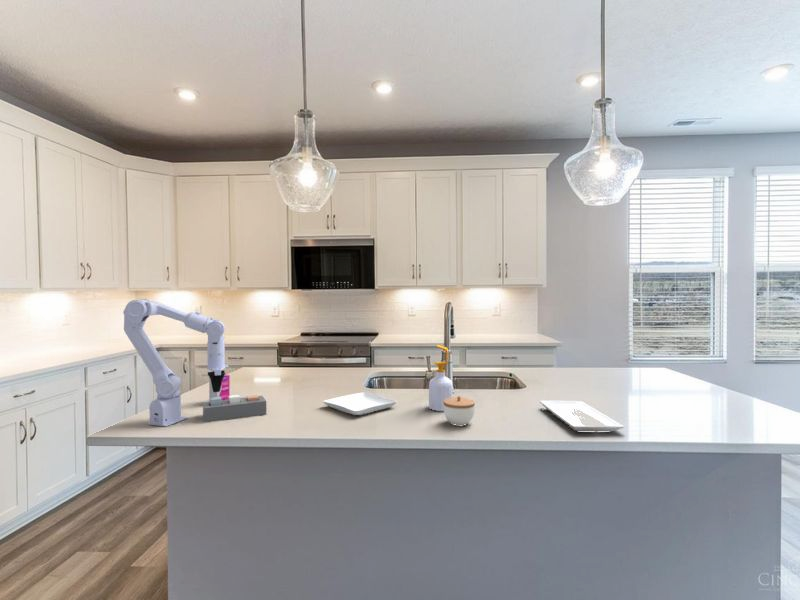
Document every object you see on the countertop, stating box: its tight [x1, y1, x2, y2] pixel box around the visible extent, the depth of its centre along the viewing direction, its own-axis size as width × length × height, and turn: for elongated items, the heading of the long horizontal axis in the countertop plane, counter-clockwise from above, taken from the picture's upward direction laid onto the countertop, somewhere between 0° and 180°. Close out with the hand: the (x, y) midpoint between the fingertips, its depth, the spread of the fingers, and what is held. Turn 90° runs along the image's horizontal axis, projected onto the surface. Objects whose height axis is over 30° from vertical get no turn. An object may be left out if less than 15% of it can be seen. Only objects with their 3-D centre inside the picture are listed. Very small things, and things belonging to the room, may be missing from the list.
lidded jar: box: [443, 395, 476, 425], centre depth 150 cm, size 11×11×9 cm
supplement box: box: [208, 373, 231, 402], centre depth 176 cm, size 6×6×12 cm
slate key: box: [210, 397, 222, 406], centre depth 157 cm, size 4×4×4 cm
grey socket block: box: [202, 395, 267, 423], centre depth 159 cm, size 21×9×5 cm, turn 117°
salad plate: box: [323, 391, 398, 416], centre depth 169 cm, size 21×21×3 cm
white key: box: [229, 394, 241, 404], centre depth 159 cm, size 4×4×4 cm
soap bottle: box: [428, 344, 453, 412], centre depth 168 cm, size 9×9×25 cm
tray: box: [539, 400, 625, 432], centre depth 153 cm, size 17×32×4 cm, turn 2°
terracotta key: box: [246, 394, 259, 402], centre depth 162 cm, size 4×4×4 cm
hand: (216, 391), depth 156 cm, fingers closed
